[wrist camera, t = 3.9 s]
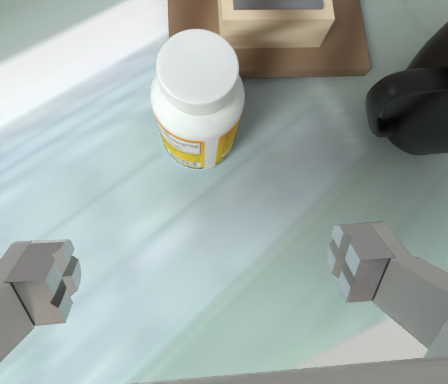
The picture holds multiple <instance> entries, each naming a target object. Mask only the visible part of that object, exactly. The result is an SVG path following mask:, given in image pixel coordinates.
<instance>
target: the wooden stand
mask: <svg viewBox="0 0 448 384" xmlns="http://www.w3.org/2000/svg"><path fill="white" fill-rule="evenodd" d="M168 21H169V38H170V37H172V36H173V35H175V34H177V33H179V32H182V31H184V30H189V29H204V30H208V31H212V32H214V33H216V34H218V35H220V36H222V37H223V38H224V39H225V40H226V41H227V42H228V43H229V44H230V45H231V46H232V47H233V49H234V51H235V53H236V55H237V58H238V63H239V76H240V78H282V77H328V76H365V75H366V73H367V72H368V71H369V70H370V69H371V68H370V62H369V56H368V50H367V44H366V38H365V32H364V26H363V20H362V14H361V8H360V2H359V0H168Z"/></svg>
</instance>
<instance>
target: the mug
mask: <svg viewBox="0 0 448 384" xmlns="http://www.w3.org/2000/svg"><path fill="white" fill-rule="evenodd" d="M383 108H384V111H383V115H382V118H378V116H379V114H380V112H381V111H382V109H383ZM366 112H367V117H368V122H369V126H370V129H371V131H372V133H373V134H375V135H376V136H378V137H386V136H388V138H389V139H390V141H391V142H392V143H393V144H394V145H395V146H397V147H398V148H399V149H401V150H403V151H405V152H407V153H410V154H415V155H427V154H438V153H448V22H447V23H446V24H445V25H444V26H443V27H442V28H441V29H440V30H439V31H438V32H437V33H436V34H435V35H434V36H433V37H432V38H431V39H430V40H429V41H428V42H427V43H426V44H425V45H424V46H423V48H422V49H421V50H420V51H419V52H418V54H417V55H416V56H415V58H414V59H413V60H412V62H411V63H410V65H409V66H408V67H407V69H406V71H401V72H397V73H394V74H391V75H389V76H386V77H385V78H383V79H381V80H380V81H378V82H377V83H376V84H375V85H374V86H373V87H372V88H371V89H370V90H369V92H368V94H367V97H366Z"/></svg>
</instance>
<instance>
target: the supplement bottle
mask: <svg viewBox="0 0 448 384" xmlns="http://www.w3.org/2000/svg"><path fill="white" fill-rule="evenodd" d="M156 72H157V73H156V75H155V77H154V79H153V82H152V86H151V96H150V97H151V105H152V109H153V112H154V115H155V118H156V121H157V124H158V127H159V130H160V133H161V136H162V139H163V142H164V145H165V148H166V150H167V152H168V154H169V155H170V157H171V158H172V159H173V160H174V161H175V162H176V163H178V164H179V165H181V166H183V167H185V168H187V169H191V170H207V169H210V168H213V167H215V166H217V165H219V164H220V163H221V162H222V161H223V160H224V159H225V158H226V157H227V156H228V154H229V152H230V150H231V148H232V145H233V142H234V139H235V135H236V132H237V128H238V125H239V122H240V118H241V115H242V112H243V108H244V102H245V91H244V86H243V83H242V80H241V78H240V76H239V63H238V58H237V55H236V53H235V51H234V49H233V47H232V46H231V45H230V44H229V43H228V42H227V41H226V40H225V39H224V38H223V37H222V36H220V35H218V34H216V33H214V32H212V31H208V30H204V29H189V30H184V31H182V32H179V33H177V34H175V35H173V36H172V37H170V38H169V39H168V40H167V41H166V42H165V43H164V44H163V46H162V47H161V49H160V51H159V53H158V56H157V60H156Z"/></svg>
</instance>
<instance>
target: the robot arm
mask: <svg viewBox="0 0 448 384" xmlns="http://www.w3.org/2000/svg"><path fill="white" fill-rule="evenodd" d="M331 235H332V237H333V239H334V240H333V241H332V242H331V243H330V244H329V245H328V249H327V262H328V265H329V268H330V270H331V273H332V274H333V275H335V276H336V277H338V278H339V281H338V284H337V285H338V287H339V289H340V291H341V293H342V295H343V297H344V299H345V301H346V302H361V301H373V303H374V304H375V305H377V306H378V307H379V308H380V309H381V310H382V311H384V312H385V313H386V314H387V315H388V316H390V317H391V318H392V319H393V320H394V321H395V322H397V323H398V324H399V325H400V326H401V327H403V328H404V329H405V330H406V331H407V332H408V333H410V334H411V335H412V336H413V337H414V338H416V339H417V340H418V341H419V342H420V343H422V344H423V345H424V346H425V347H426V348H427V349H428V350H427V352H426V353H425V355H424V357H423V358H416V359H404V360H394V361H382V362H370V363H360V364H349V365H336V366H325V367H314V368H303V369H291V370H280V371H269V372H257V373H246V374H235V375H224V376H212V377H201V378H190V379H178V380H167V381H156V382H145V383H133V384H448V273H447V272H445V271H443V270H441V269H439V268H437V267H436V266H434V265H432V264H430V263H428V262H426V261H424V260H422V259H421V258H419V257H412V256H411V254H410V253H409V252H408V251H407V249H406V248H405V247H404V246H403V244H402V243H401V242H400V241H399V240H398V238H397V237H396V236H395V235H394V233H393V232H392V231H391V230H390V228H389V227H388V226H387V225H386V224H385V223H384V222H382V221H380V222H366V223H355V224H339V225H335V226H334V227H333V229H332V233H331ZM73 251H74V247H73V244H72V242H71V241H70V240H68V239H66V240H36V241H16V242H14V243H13V244H11V245H10V247H9V248H8V250H7V251H6V252H5V254H4V255H3V257H2V258H1V260H0V362H1V361H2V360H3V359H4V358H5V357H6V356H7V355H8V354H9V353H10V352H11V351H12V350H13V349H14V348H15V347H16V346H17V345H18V344H19V343H20V342H21V341H22V340H23V339H24V338H25V337H26V336H27V335H28V334H29V333H30V332H31V331H32V330H33V329H34V326H38V325H48V324H58V323H65V322H66V320H67V317H68V314H69V312H70V309H71V306H72V304H73V302H72V300H71V297H70V296H71V295H73V294H74V293H75V292H76V291H77V290H78V287H79V284H80V279H81V267H80V263H79V260H78V259H77V258H75V257H74V256H72V254H73Z"/></svg>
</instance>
